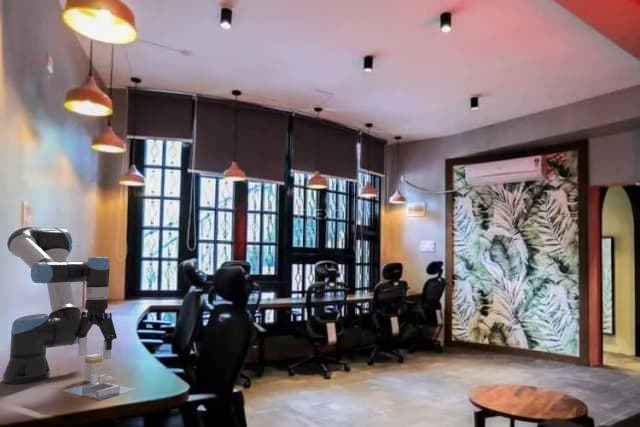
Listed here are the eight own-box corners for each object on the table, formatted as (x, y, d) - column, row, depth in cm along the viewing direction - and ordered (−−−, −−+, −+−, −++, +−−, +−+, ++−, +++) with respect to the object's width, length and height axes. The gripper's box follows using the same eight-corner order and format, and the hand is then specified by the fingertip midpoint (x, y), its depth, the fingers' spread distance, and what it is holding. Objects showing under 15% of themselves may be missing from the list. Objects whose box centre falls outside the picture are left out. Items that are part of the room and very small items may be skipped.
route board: (60, 394, 157) (60, 390, 157) (97, 384, 169) (97, 381, 170) (99, 403, 148) (100, 399, 148) (136, 392, 160) (136, 389, 160)
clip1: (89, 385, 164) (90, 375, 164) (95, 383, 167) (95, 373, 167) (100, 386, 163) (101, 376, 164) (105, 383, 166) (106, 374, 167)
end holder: (81, 395, 152) (82, 387, 152) (103, 389, 159) (103, 382, 159) (98, 399, 148) (98, 391, 149) (119, 393, 155) (119, 385, 156)
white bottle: (83, 383, 170) (85, 355, 171) (93, 381, 174) (95, 353, 175) (90, 385, 168) (92, 356, 169) (101, 382, 172) (102, 354, 173)
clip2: (101, 386, 162) (101, 377, 163) (110, 385, 164) (111, 376, 164) (102, 389, 159) (103, 379, 159) (112, 388, 160) (112, 378, 161)
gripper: (66, 298, 176) (63, 356, 174) (110, 300, 164) (108, 362, 162) (84, 296, 183) (81, 352, 181) (128, 299, 171) (126, 358, 169)
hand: (94, 357), depth 171 cm, fingers open, 13 cm apart
